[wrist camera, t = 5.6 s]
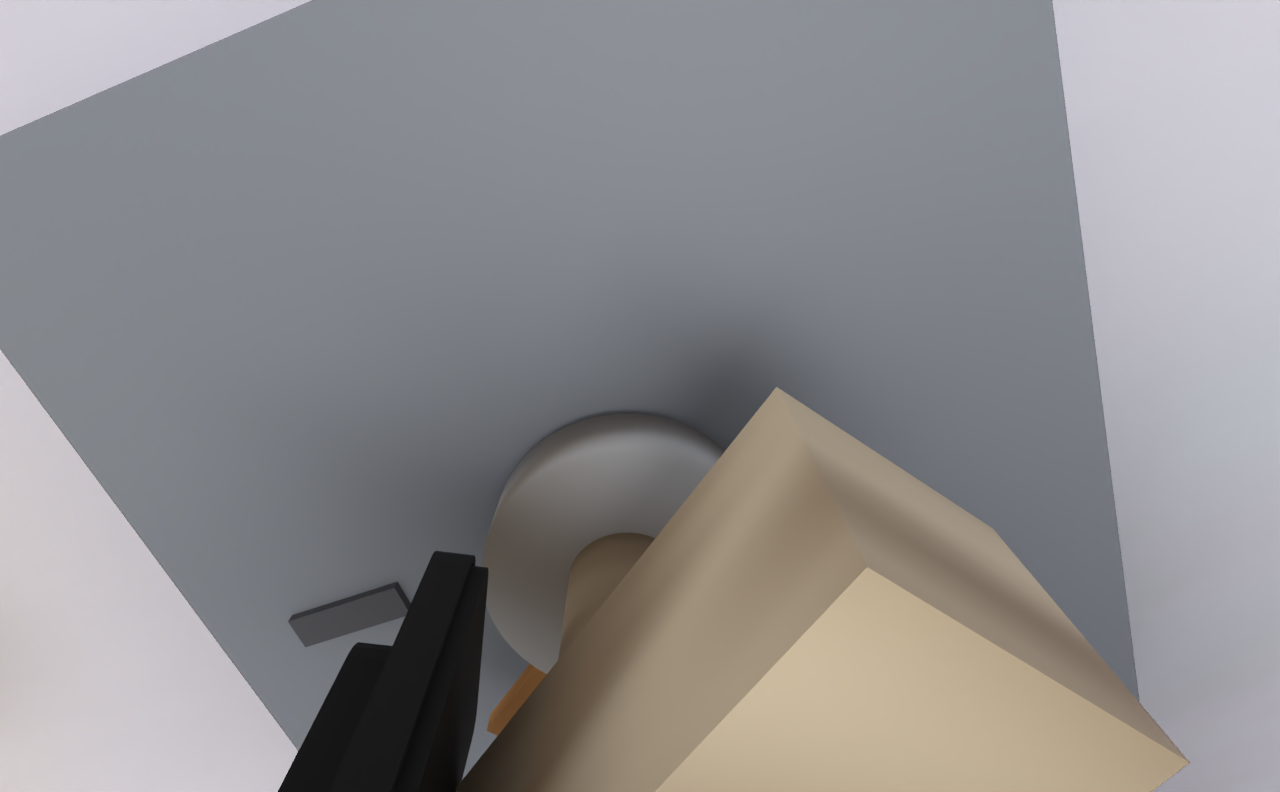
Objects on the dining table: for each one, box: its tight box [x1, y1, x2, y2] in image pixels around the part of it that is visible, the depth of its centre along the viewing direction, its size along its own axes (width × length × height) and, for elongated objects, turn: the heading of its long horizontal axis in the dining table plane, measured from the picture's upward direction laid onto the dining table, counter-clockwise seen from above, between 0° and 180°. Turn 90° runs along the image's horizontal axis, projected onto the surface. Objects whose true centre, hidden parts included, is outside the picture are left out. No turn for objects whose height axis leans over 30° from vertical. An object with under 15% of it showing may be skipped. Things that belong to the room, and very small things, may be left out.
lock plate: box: [0, 0, 1139, 780], centre depth 15 cm, size 18×20×2 cm
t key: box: [456, 387, 1190, 792], centre depth 10 cm, size 10×5×8 cm, turn 146°
